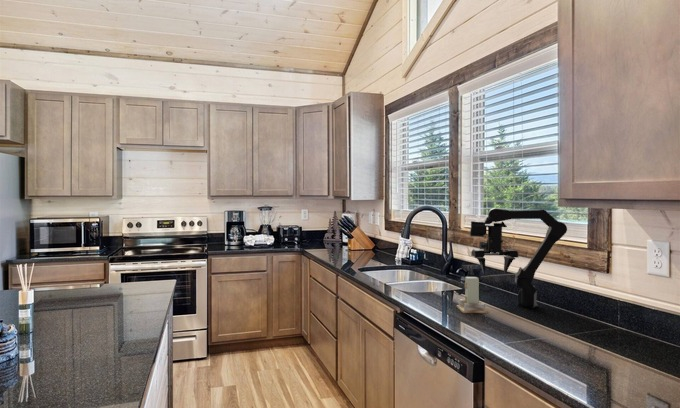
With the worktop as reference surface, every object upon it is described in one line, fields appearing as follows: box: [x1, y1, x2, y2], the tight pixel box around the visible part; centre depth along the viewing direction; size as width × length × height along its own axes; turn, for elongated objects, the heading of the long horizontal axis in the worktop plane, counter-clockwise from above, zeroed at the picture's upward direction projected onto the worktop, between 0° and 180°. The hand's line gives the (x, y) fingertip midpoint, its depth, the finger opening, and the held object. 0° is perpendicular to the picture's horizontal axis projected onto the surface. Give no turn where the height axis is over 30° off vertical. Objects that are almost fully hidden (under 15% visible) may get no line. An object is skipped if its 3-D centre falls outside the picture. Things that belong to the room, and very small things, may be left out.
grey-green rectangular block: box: [464, 276, 480, 303], centre depth 177 cm, size 5×4×12 cm
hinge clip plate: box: [456, 298, 489, 314], centre depth 177 cm, size 10×9×3 cm
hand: (494, 273), depth 188 cm, fingers open, 9 cm apart
